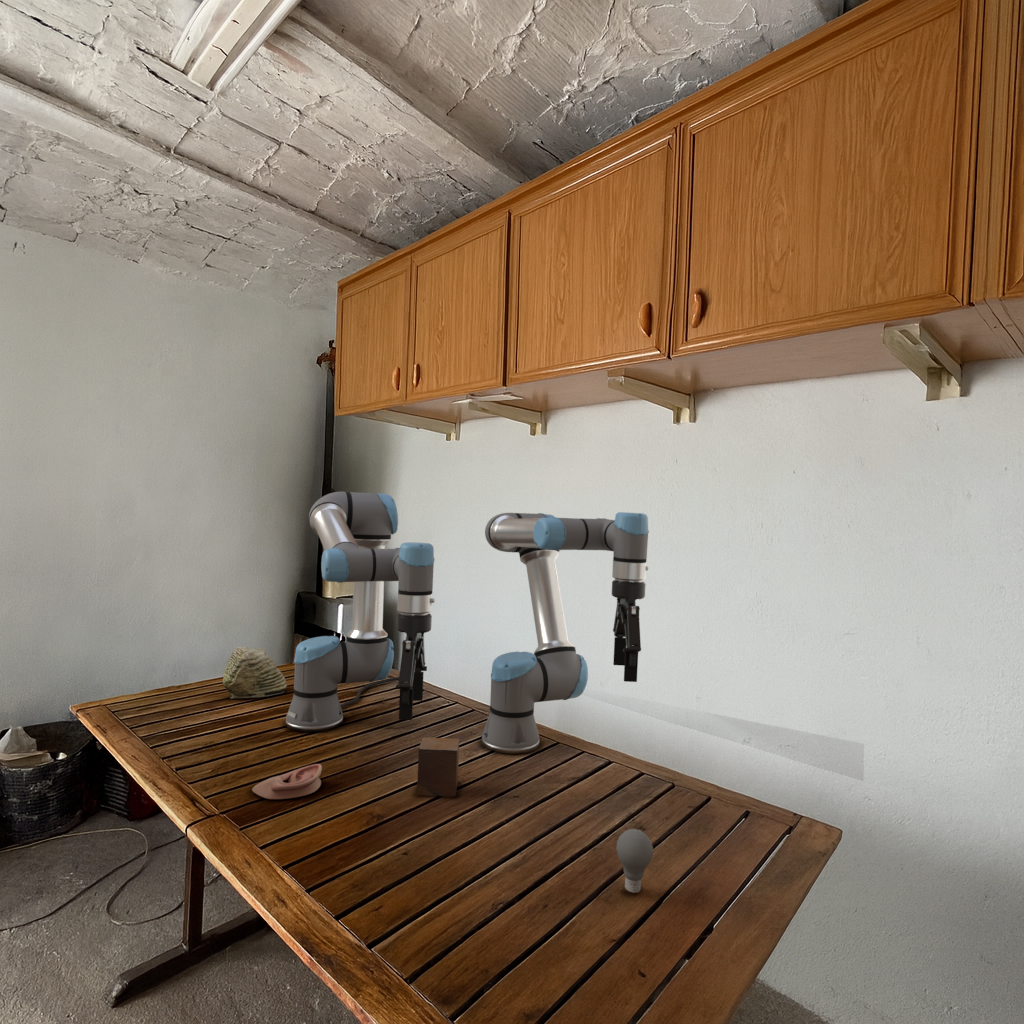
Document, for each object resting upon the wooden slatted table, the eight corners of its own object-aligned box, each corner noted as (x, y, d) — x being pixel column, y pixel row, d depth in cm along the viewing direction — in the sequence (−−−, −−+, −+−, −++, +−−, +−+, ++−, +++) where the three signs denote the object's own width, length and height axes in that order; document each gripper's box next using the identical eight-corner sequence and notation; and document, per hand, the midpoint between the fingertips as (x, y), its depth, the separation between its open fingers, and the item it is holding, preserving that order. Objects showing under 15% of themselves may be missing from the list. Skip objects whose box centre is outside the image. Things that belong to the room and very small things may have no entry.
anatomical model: (244, 776, 132) (275, 755, 144) (243, 795, 132) (274, 772, 144) (301, 785, 130) (329, 762, 141) (301, 804, 130) (328, 780, 141)
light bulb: (610, 879, 108) (613, 822, 108) (644, 879, 109) (647, 822, 109) (619, 902, 102) (622, 840, 102) (655, 901, 103) (658, 840, 103)
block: (416, 795, 136) (418, 748, 136) (420, 782, 143) (422, 737, 143) (455, 797, 136) (457, 750, 136) (457, 783, 143) (459, 738, 143)
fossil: (218, 695, 195) (220, 647, 195) (278, 685, 208) (279, 640, 207) (228, 703, 189) (230, 653, 188) (289, 692, 201) (290, 645, 201)
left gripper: (422, 623, 127) (418, 729, 127) (439, 605, 152) (436, 693, 152) (385, 622, 127) (381, 727, 127) (407, 604, 152) (404, 692, 152)
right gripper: (658, 588, 132) (653, 689, 132) (634, 574, 157) (630, 659, 157) (622, 586, 132) (617, 688, 132) (604, 573, 157) (600, 658, 157)
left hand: (411, 709), depth 139 cm, fingers open, 13 cm apart
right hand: (624, 672), depth 145 cm, fingers open, 13 cm apart
